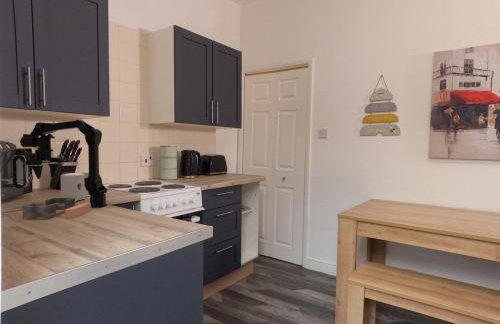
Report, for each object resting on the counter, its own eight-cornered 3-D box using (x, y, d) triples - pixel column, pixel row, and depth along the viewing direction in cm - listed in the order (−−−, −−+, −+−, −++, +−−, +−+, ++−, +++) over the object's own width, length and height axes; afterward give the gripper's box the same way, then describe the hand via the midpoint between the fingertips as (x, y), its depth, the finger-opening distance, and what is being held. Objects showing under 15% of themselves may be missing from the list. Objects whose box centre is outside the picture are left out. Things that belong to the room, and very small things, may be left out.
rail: (83, 211, 149) (83, 203, 149) (90, 211, 149) (90, 203, 149) (65, 218, 135) (64, 209, 135) (73, 218, 135) (72, 209, 135)
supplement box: (76, 202, 168) (76, 175, 167) (60, 202, 169) (59, 174, 168) (86, 199, 177) (85, 173, 176) (70, 199, 178) (69, 173, 177)
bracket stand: (75, 209, 152) (74, 198, 152) (46, 219, 132) (46, 206, 132) (54, 208, 153) (54, 197, 152) (22, 219, 132) (22, 206, 132)
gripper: (43, 147, 167) (45, 175, 168) (14, 147, 149) (15, 180, 150) (63, 147, 166) (64, 176, 167) (35, 148, 148) (36, 180, 149)
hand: (45, 178), depth 158 cm, fingers open, 9 cm apart
